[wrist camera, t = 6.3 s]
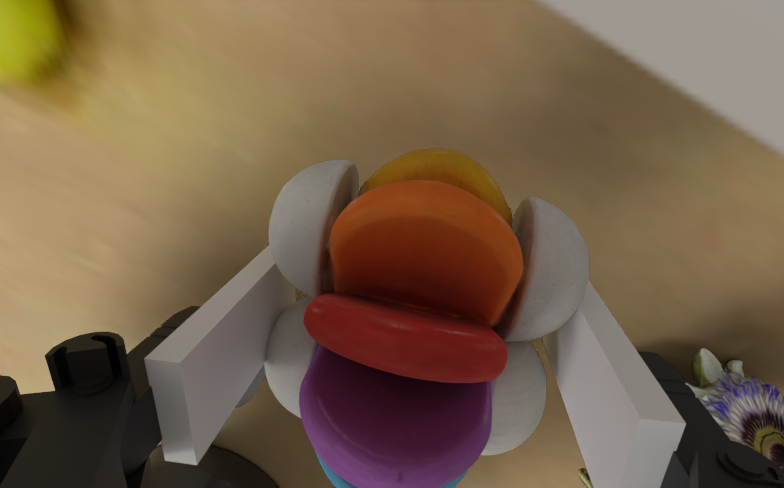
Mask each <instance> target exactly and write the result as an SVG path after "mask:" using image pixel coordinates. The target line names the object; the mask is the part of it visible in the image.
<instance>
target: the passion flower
mask: <svg viewBox="0 0 784 488" xmlns="http://www.w3.org/2000/svg"><path fill="white" fill-rule="evenodd" d="M742 365H743V362H742V361H740V360H733V361H729V362H728V363H727V364H725V365H724V367H723V368H722V365H721V363H720V362H719V361H718V360H717V358H716V357H715V356H714V355H713V354H712V353H711V352H710V351H709V350H707V349H705V348H700V350H698V351H697V352H696V353H695V354H694V355H693V357H692V361H691V366H692V373H693V378H694V381H695V384H696V386H692V385H690V384H689V383H687V382H686V385H689V387H690V388H691V389H692V391H693V392H694V393H695V397H696V398H699V400H700V401H701V402H702V404H703V405H704V406H705V407H706V409H707V410H708V411H709V413H710V414H711V415H712V417H713V418H714V419H715V420H716V422H717V423H718V424H719V426H720V427H721V428H722V430H723V431H724V432H725V433H726V435H727V436H728V437H729V439H730V440H732V441H735V442H739V443H741V444H743V445H746V446H748V447H750V448H752V449H754V450H756V451H758V452H759V453H761V454H762V455H764V456H765V457H767V458H768V459H770V460H771V461H773V462H774V463H775V464H776V465H777V466H778V467H779V468H780V469H781V470H782V471H783V472H784V397H783V396H781V395H779V393H780V392H779V390H778V388H777V386H775V385H769V384H766V383H764V382H763V381H759V380H758V379H757V378H756V377H755V376H754V377H753V376H751V377H745V374H744V373H743V369H742ZM578 474H579V477H580V479H581V480H582V482H583V483H584V484H585V486H586V487H587V488H593V485H592V482H591V480H590V477H589V475H588V472H587V470H586V469H584V468H581V469H579V471H578Z"/></svg>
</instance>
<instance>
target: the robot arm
mask: <svg viewBox="0 0 784 488" xmlns="http://www.w3.org/2000/svg"><path fill="white" fill-rule="evenodd" d="M295 302H296V293H295V287H294V286H293V285H292V284H291V283H290V282H289V281H288V280H287V279H286V278H285V277H284V276H283V275H282V273H281V272H280V270H279V268H278V267H277V265H276V263H275V260H274V258H273V256H272V253H271V250H270V245H268V246H267V247H266V248H265V249H264V250H263V251H262V252H261V253H260V254H258V255H257V256H256V257H255V258H254V259H253V260H252V261H251V262H250V263H249V264H248V265H246V266H245V267H244V268H243V269H242V270H241V271H240V272H239V273H238V274H237V275H235V276H234V277H233V278H232V279H231V280H230V281H229V282H228V283H227V284H226V285H224V286H223V287H222V288H221V289H220V290H219V291H218V292H217V293H216V294H215V295H213V296H212V297H211V298H210V299H209V300H208V301H207V302H206V303H205V304H204V305H202V306H201V307H196V306H191V307H189V308H187V309H185V310H182V311H180V312H178V313H176V314H174V315H173V316H172V317H170V318H169V319H168V320H167V321H166V322H165V323H163V324H162V325H161V328H157V329H156V330H155V331H154V332H153V333H152V334H151V336H150V337H147V338H146V339H145V340H143V341H142V342H141V343H140V344H139V345H137V346H136V347H135V348H134V349H133V350H132V351H130V352H129V353H128V354H126V349H125V345H124V340H123V338H122V337H121V336H120V335H118V334H115V333H111V332H94V333H89V334H84V335H79V336H77V337H74V338H71V339H68V340H66V341H64V342H62V343H60V344H59V345H57V346H55V347H53V348H52V349H51V350H50V351H49V352H48V353H47V354H46V355H45V358H46V361H47V364H48V367H49V371H50V374H51V377H52V381H53V384H54V387H55V391H51V392H41V393H32V394H22V395H20V393H19V390H18V387H17V384H16V381H15V380H13V379H12V378H11V377H9V376H1V375H0V488H277V486H276V485H275V484H274V483H273V482H272V481H271V480H270V479H269V478H268V477H267V476H266V475H265V474H264V473H263V472H262V471H260V470H259V469H258V468H257V467H255V466H254V465H252V464H251V463H249V462H248V461H246V460H244V459H242V458H241V457H239V456H237V455H235V454H232V453H230V452H228V451H225V450H222V449H220V448H216V447H213V446H210V445H211V443H212V442H213V440H214V439H215V437H216V436H217V434H218V433H219V431H220V430H221V428H222V427H223V425H224V424H225V422H226V421H227V419H228V418H229V416H230V415H231V413H232V412H233V410H234V408H235V407H236V405H237V404H238V402H239V401H240V399H241V398H242V396H243V395H244V393H245V392H246V390H247V389H248V387H249V386H250V384H251V383H252V381H253V380H254V378H255V377H256V375H257V374H258V372H259V371H260V369H261V367H262V366H263V364H264V363H265V361H266V352H267V346H268V341H269V338H270V334H271V332H272V329H273V327H274V325H275V323H276V321H277V320H278V318H279V317H280V316H281V315H282V313H283V312H284V311H285V310H286V309H288V308H289V307H290V306H291V305H292V304H294V303H295ZM542 341H543V344H544V346H545V349H546V352H547V355H548V358H549V361H550V364H551V367H552V370H553V372H554V375H555V378H556V381H557V384H558V387H559V390H560V393H561V396H562V398H563V401H564V404H565V407H566V410H567V413H568V416H569V419H570V422H571V425H572V427H573V430H574V433H575V436H576V439H577V442H578V445H579V448H580V451H581V453H582V456H583V459H584V462H585V465H586V468H587V471H588V474H589V477H590V480H591V482H592V485H593V488H784V472H783V471H782V470H781V469H780V468H779V467H778V466H777V465H776V464H775V463H774V462H773V461H771V460H770V459H768V458H767V457H765V456H764V455H762V454H761V453H759V452H758V451H756V450H754V449H752V448H750V447H748V446H746V445H743V444H741V443H739V442H735V441H732V440H730V439H729V437H728V436H727V435H726V433H725V432H724V431H723V430H722V428H721V427H720V426H719V424H718V423H717V422H716V420H715V419H714V418H713V417H712V415H711V414H710V413H709V411H708V410H707V409H706V407H705V406H704V405H703V404H702V402H701V401H700V400H699V398H696V397H695V393H694V392H693V391H692V389H691V388H690V387H689V385H686V382H685V380H684V379H683V378H682V376H681V375H680V374H679V372H678V371H677V370H676V369H675V367H674V366H672V365H671V364H670V363H668V362H667V361H665V360H664V359H663V358H661V357H660V356H659V355H657V354H656V353H649V352H639V351H636V349H635V348H634V346H633V345H632V343H631V342H630V340H629V339H628V337H627V336H626V334H625V333H624V331H623V330H622V328H621V327H620V325H619V324H618V323H617V321H616V320H615V318H614V317H613V315H612V314H611V312H610V311H609V309H608V308H607V306H606V305H605V303H604V302H603V300H602V299H601V298H600V296H599V295H598V293H597V292H596V290H595V289H594V287H593V286H592V284H591V283H590V281H589V280H588V284H587V288H586V291H585V295H584V297H583V300H582V302H581V304H580V306H579V308H578V309H577V310H576V312H575V313H574V314H573V316H572V317H571V318H570V319H569V320H568V321H567V322H565V323H564V324H563V325H562V326H561V327H559V328H558V329H556V330H555V331H553V332H551V333H549V334H547V335H545V336H543V338H542ZM160 441H161V444H162V446H160V447H157V448H156V446H157V445H158V444H159V443H160Z"/></svg>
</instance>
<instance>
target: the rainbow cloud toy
mask: <svg viewBox="0 0 784 488" xmlns="http://www.w3.org/2000/svg"><path fill="white" fill-rule="evenodd" d="M269 245H270V250H271V253H272V256H273V258H274V260H275V263H276V265H277V267H278V268H279V270H280V272H281V273H282V275H283V276H284V277H285V278H286V279H287V280H288V281H289V282H290V283H291V284H292V285H293V286H294V287H295V288H297V289H298V290H299V291H301V292H303V293H304V294H306V295H308V296H307V297H304V298H302V299H300V300H299V301H297V302H295V303H294V304H292V305H291V306H290V307H289V308H288V309H286V310H285V311H284V312H283V313H282V315H281V316H280V317H279V318H278V320H277V321H276V323H275V325H274V327H273V329H272V332H271V334H270V338H269V341H268V346H267V352H266V361H265V363H264V366H265V374H266V378H267V381H268V383H269V386H270V388H271V390H272V392H273V394H274V395H275V397H276V398H277V400H278V401H279V402H280V403H281V404H282V405H283V406H284V407H285V408H286V409H287V410H288V411H290V412H291V413H293V414H294V415H296V416H298V417H299V418H301V419H302V422H303V426H304V429H305V431H306V434H307V436H308V438H309V440H310V442H311V444H312V446H313V447H314V450H315V453H316V455H317V458H318V460H319V462H320V464H321V467H322V469H323V470H324V472H325V474H326V475H327V477H328V478H329V480H330V481H331V483H332V484H333V485H334V486H335V487H336V488H454V487H455V486H456V485H457V484H458V482H459V481H460V480H461V479H462V477H463V476H464V474H465V473H466V471H467V470H468V468H470V467H471V466H472V465H473V464H474V462H475V461H476V460H477V459H478V458H479V456H480V455H496V454H500V453H504V452H507V451H510V450H512V449H514V448H516V447H518V446H519V445H521V444H522V443H523V442H525V441H526V440H527V439H528V438H529V437H530V436H531V435H532V433H533V432H534V431H535V430H536V428H537V427H538V425H539V423H540V421H541V419H542V416H543V412H544V408H545V403H546V392H547V384H546V373H545V369H544V366H543V363H542V361H541V359H540V357H539V355H538V353H537V351H536V350H535V349H534V347H533V346H532V344H531V343H530V342H529V341H528V340H532V339H536V338H539V337H542V336H545V335H547V334H549V333H551V332H553V331H555V330H556V329H558V328H559V327H561V326H562V325H563V324H564V323H565V322H567V321H568V320H569V319H570V318H571V317H572V316H573V314H574V313H575V312H576V310H577V309H578V308H579V306H580V304H581V302H582V300H583V297H584V295H585V291H586V288H587V284H588V279H589V267H590V265H589V254H588V250H587V246H586V243H585V241H584V238H583V236H582V235H581V233H580V231H579V229H578V228H577V226H576V225H575V223H574V222H573V221H572V220H571V219H570V218H569V217H568V216H567V215H566V214H565V213H564V212H563V211H562V210H560V209H559V208H557V207H556V206H554V205H553V204H551V203H549V202H547V201H545V200H543V199H540V198H538V197H527V198H526V199H524V200H523V201H522V202H521V204H520V205H519V207H518V209H517V211H516V213H515V215H514V217H513V219H512V213H511V210H510V208H509V207H508V206H507V204H506V201H505V198H504V196H503V194H502V193H501V191H500V189H499V187H498V185H497V183H496V182H495V181H494V179H493V178H492V177H491V175H490V174H489V173H488V172H487V171H486V170H485V169H484V168H483V167H482V166H481V165H479V164H478V163H477V162H476V161H474V160H473V159H471V158H469V157H468V156H466V155H464V154H462V153H459V152H456V151H451V150H445V149H423V150H418V151H414V152H410V153H408V154H405V155H402V156H400V157H398V158H396V159H394V160H393V161H391V162H389V163H388V164H386V165H385V166H383V167H382V168H380V169H379V170H378V171H377V172H376V173H375V174H374V175H373V176H372V177H371V178H370V179H369V180H368V181H366V182H365V183H364V184H363V186H362V187H361V189H360V191H359V175H358V170H357V167H356V165H355V164H354V163H353V162H352V161H350V160H346V159H338V160H328V161H323V162H320V163H317V164H314V165H311V166H309V167H307V168H305V169H304V170H302V171H301V172H299V173H298V174H296V175H295V176H294V177H292V178H291V179H290V180H289V181H288V182H287V183H286V184H285V185H284V186H283V188H282V190H281V192H280V193H279V195H278V197H277V199H276V201H275V204H274V207H273V210H272V214H271V217H270V223H269Z"/></svg>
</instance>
